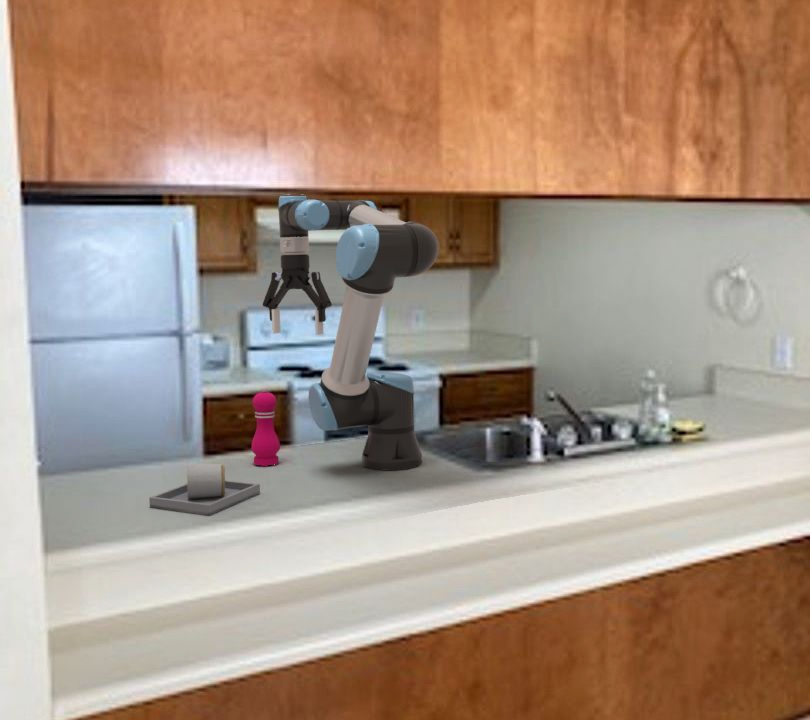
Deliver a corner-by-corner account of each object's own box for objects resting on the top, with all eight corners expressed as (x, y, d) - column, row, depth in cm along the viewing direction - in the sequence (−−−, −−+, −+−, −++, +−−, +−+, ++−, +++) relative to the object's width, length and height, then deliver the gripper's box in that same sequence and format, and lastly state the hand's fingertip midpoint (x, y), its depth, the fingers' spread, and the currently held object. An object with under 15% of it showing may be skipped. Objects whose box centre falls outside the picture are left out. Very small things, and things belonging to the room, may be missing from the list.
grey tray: (260, 493, 206) (259, 484, 206) (209, 515, 190) (209, 505, 190) (203, 486, 213) (202, 477, 213) (149, 507, 197) (149, 497, 197)
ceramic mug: (226, 499, 199) (224, 465, 198) (187, 502, 197) (185, 467, 197) (225, 488, 209) (224, 455, 208) (188, 491, 208) (187, 457, 207)
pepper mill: (285, 464, 233) (283, 386, 231) (259, 468, 229) (257, 388, 227) (272, 459, 239) (270, 383, 237) (247, 463, 235) (244, 385, 233)
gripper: (247, 254, 244) (251, 333, 247) (328, 253, 233) (330, 336, 236) (263, 254, 251) (267, 331, 254) (342, 252, 240) (345, 333, 243)
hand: (297, 333), depth 245 cm, fingers open, 13 cm apart
